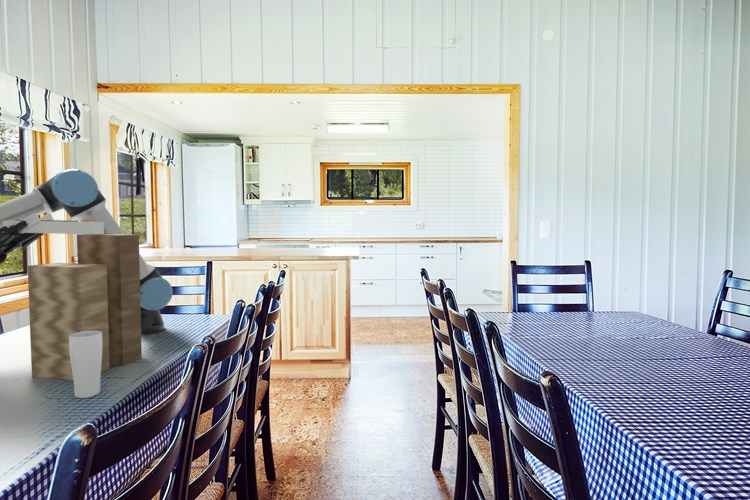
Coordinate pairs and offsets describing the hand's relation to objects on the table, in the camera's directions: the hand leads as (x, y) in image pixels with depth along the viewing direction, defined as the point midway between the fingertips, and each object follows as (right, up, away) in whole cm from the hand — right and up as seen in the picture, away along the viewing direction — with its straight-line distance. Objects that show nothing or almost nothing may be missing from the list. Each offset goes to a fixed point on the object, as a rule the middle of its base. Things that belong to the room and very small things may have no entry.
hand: (44, 217), depth 122 cm
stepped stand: (+8, -43, +7) cm, 44 cm away
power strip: (+3, -4, 0) cm, 5 cm away
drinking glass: (+21, -44, -14) cm, 51 cm away
